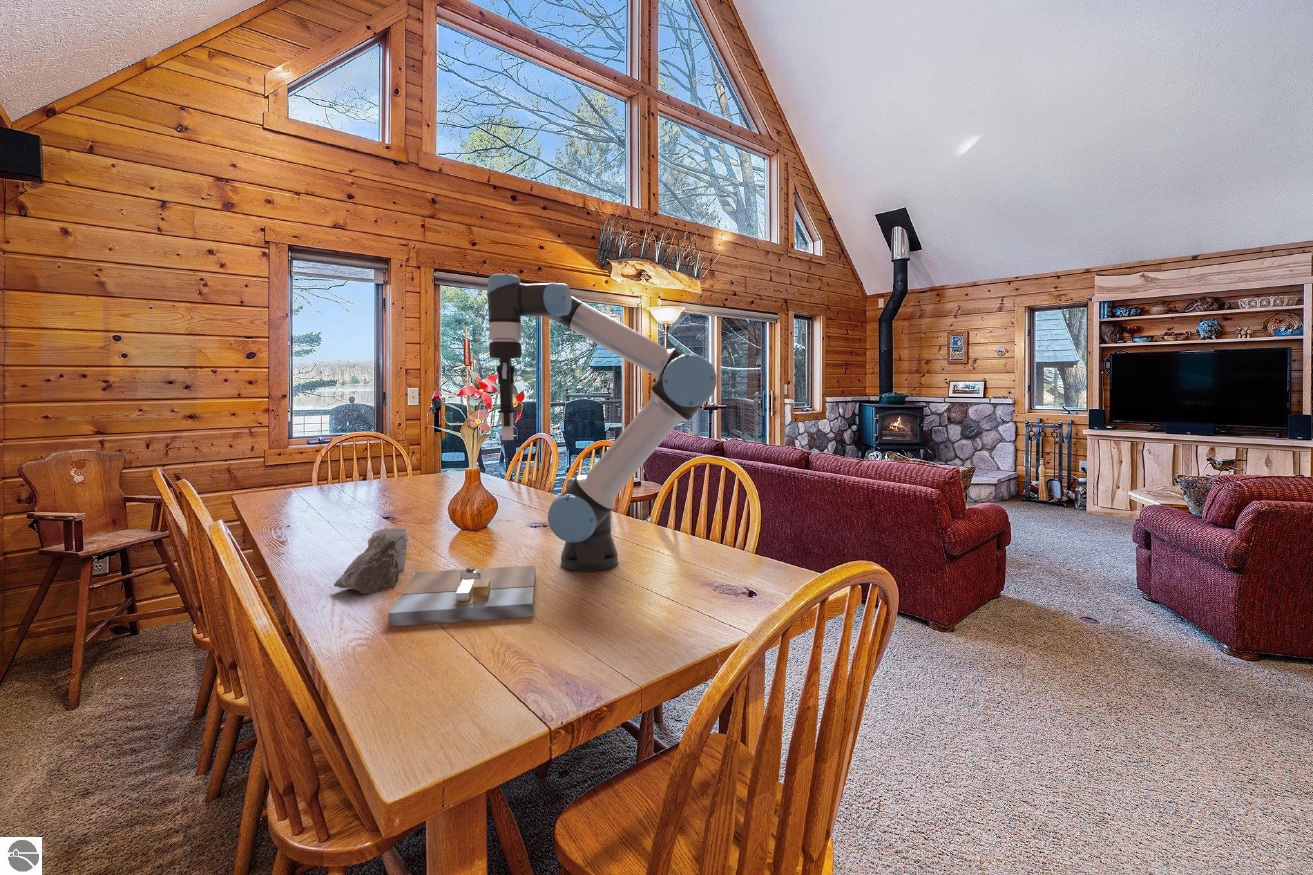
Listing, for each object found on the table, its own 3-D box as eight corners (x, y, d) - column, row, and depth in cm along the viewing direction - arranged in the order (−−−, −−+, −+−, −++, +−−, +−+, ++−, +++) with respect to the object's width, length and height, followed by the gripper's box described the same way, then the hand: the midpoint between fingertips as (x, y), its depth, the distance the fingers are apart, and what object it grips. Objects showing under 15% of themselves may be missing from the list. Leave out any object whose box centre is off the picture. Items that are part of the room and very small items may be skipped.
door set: (535, 576, 147) (535, 553, 146) (532, 616, 122) (532, 588, 121) (417, 583, 142) (416, 559, 141) (388, 626, 117) (387, 597, 116)
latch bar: (462, 580, 135) (461, 566, 134) (482, 579, 135) (481, 565, 135) (451, 602, 121) (451, 586, 121) (473, 601, 122) (473, 585, 122)
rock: (348, 591, 131) (362, 525, 137) (331, 593, 135) (345, 529, 141) (397, 598, 140) (409, 535, 146) (380, 600, 144) (391, 539, 150)
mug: (356, 571, 151) (355, 533, 150) (383, 562, 159) (381, 525, 158) (390, 577, 146) (389, 537, 146) (416, 567, 154) (414, 529, 153)
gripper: (491, 343, 147) (494, 437, 149) (486, 339, 134) (489, 442, 136) (522, 343, 148) (524, 436, 150) (520, 339, 135) (522, 442, 137)
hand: (507, 439), depth 143 cm, fingers closed
